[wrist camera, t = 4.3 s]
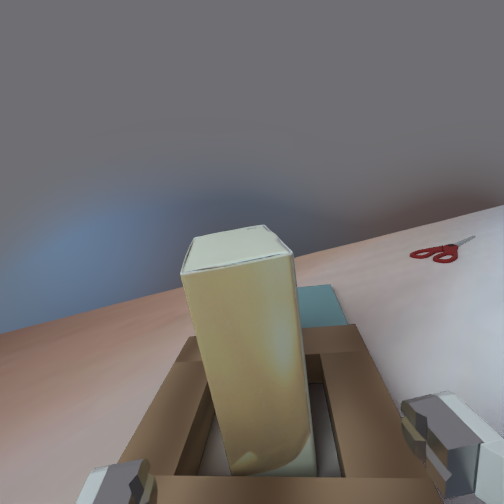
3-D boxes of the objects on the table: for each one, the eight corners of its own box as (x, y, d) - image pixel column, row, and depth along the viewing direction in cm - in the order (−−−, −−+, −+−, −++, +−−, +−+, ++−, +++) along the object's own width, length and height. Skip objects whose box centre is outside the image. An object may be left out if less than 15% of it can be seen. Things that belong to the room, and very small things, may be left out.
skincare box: (230, 400, 18) (192, 235, 15) (289, 386, 19) (264, 222, 15) (235, 510, 12) (173, 270, 9) (323, 486, 12) (295, 246, 9)
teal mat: (200, 349, 24) (198, 342, 24) (223, 300, 34) (222, 295, 34) (351, 339, 22) (351, 331, 22) (330, 290, 32) (330, 284, 32)
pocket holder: (77, 615, 10) (53, 576, 9) (195, 360, 23) (189, 336, 22) (488, 659, 8) (496, 612, 7) (356, 350, 21) (355, 324, 20)
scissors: (407, 259, 38) (407, 253, 38) (455, 237, 44) (455, 231, 44) (447, 267, 34) (448, 260, 33) (496, 241, 40) (496, 235, 39)
